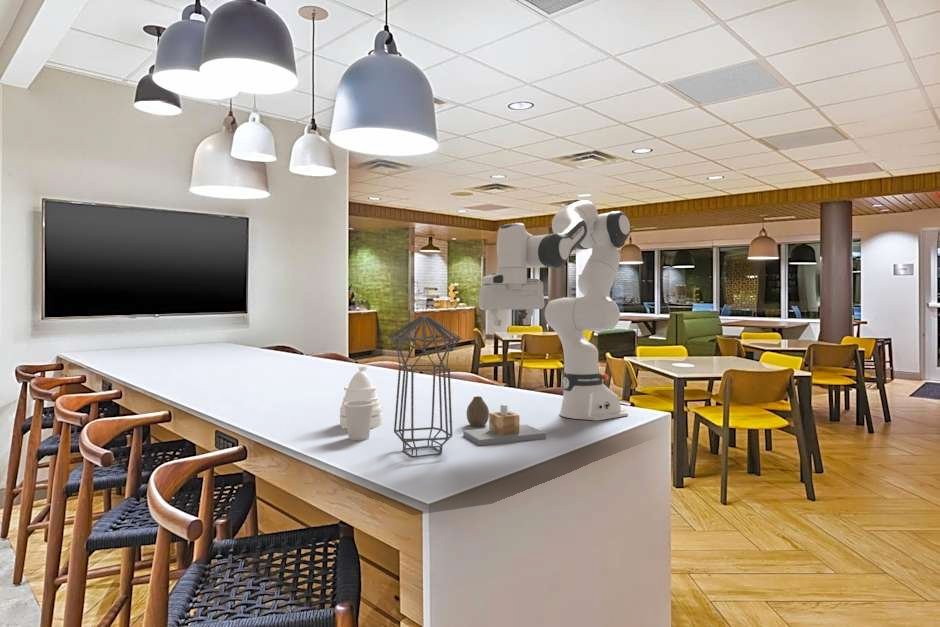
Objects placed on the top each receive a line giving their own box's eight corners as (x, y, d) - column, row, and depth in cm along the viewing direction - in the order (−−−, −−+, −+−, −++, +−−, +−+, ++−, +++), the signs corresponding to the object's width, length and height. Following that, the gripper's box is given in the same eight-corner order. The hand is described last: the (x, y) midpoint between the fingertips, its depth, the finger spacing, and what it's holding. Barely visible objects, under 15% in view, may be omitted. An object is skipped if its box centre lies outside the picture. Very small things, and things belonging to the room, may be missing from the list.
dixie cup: (347, 443, 162) (346, 406, 161) (341, 436, 169) (340, 401, 169) (377, 439, 165) (377, 404, 165) (369, 433, 173) (369, 399, 172)
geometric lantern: (386, 448, 156) (387, 315, 156) (442, 443, 162) (444, 315, 162) (401, 462, 142) (402, 316, 141) (462, 457, 147) (464, 316, 147)
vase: (462, 426, 181) (462, 397, 181) (473, 422, 187) (472, 394, 187) (482, 428, 178) (482, 399, 178) (492, 424, 184) (492, 396, 184)
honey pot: (348, 420, 192) (347, 364, 191) (387, 421, 190) (386, 364, 189) (333, 429, 179) (333, 369, 179) (375, 430, 177) (374, 370, 177)
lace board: (526, 429, 177) (526, 399, 176) (545, 438, 165) (545, 406, 165) (463, 435, 169) (463, 404, 169) (479, 445, 158) (479, 411, 158)
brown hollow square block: (519, 433, 166) (519, 415, 165) (498, 435, 163) (498, 417, 163) (509, 428, 172) (509, 411, 171) (489, 430, 169) (489, 412, 169)
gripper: (538, 278, 181) (538, 323, 182) (476, 278, 174) (476, 325, 174) (548, 278, 176) (548, 324, 176) (484, 277, 168) (484, 326, 168)
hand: (512, 325), depth 175 cm, fingers open, 8 cm apart
